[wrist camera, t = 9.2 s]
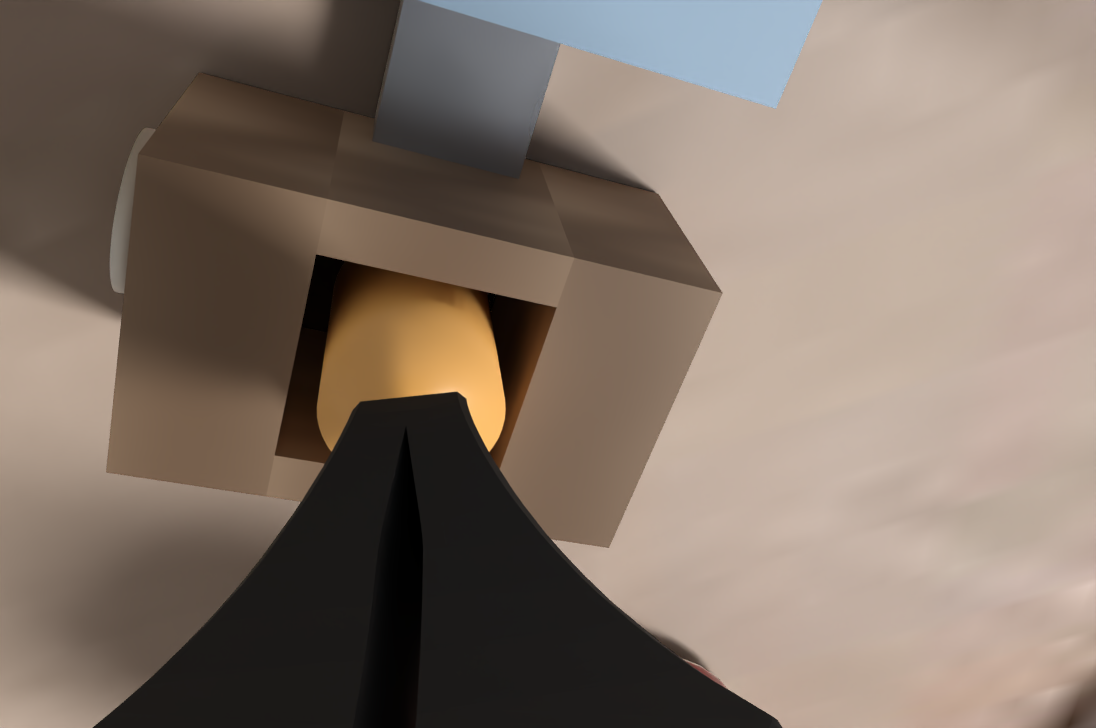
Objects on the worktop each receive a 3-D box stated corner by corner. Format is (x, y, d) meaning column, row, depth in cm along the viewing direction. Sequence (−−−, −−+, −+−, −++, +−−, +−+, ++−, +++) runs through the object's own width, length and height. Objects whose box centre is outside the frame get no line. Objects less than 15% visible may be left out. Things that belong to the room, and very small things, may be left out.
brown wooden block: (657, 193, 17) (722, 292, 13) (572, 415, 19) (608, 547, 16) (179, 67, 15) (111, 147, 11) (148, 335, 17) (84, 468, 13)
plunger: (505, 250, 15) (528, 353, 13) (465, 378, 17) (477, 498, 14) (350, 214, 15) (337, 313, 12) (319, 350, 16) (301, 471, 13)
